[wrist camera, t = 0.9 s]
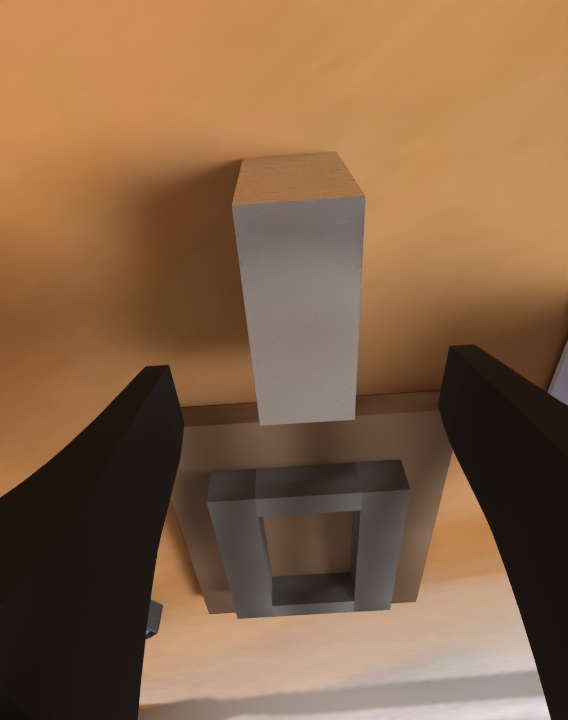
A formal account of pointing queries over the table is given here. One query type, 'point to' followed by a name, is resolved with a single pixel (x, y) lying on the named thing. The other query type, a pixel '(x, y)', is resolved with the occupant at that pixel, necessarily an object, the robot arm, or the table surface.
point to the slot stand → (311, 505)
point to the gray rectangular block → (301, 283)
